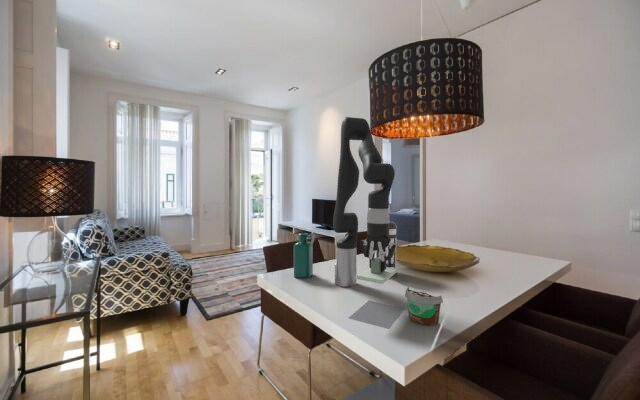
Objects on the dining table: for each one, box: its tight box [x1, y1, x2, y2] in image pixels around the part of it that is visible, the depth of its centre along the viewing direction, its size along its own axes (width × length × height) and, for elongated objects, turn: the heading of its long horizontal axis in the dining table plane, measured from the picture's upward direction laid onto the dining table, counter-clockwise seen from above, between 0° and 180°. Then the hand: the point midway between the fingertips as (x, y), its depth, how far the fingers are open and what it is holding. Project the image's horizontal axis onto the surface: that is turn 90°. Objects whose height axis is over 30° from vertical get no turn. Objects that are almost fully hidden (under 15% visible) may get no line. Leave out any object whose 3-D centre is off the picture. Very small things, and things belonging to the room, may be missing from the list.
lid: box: [356, 257, 398, 285], centre depth 97 cm, size 9×15×6 cm, turn 147°
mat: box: [348, 299, 406, 330], centre depth 98 cm, size 14×18×1 cm
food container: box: [404, 286, 444, 327], centre depth 91 cm, size 12×6×10 cm, turn 45°
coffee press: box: [374, 220, 398, 277], centre depth 145 cm, size 17×16×30 cm
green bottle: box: [293, 232, 316, 279], centre depth 143 cm, size 10×8×22 cm
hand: (377, 270), depth 97 cm, fingers closed on lid, 3 cm apart
